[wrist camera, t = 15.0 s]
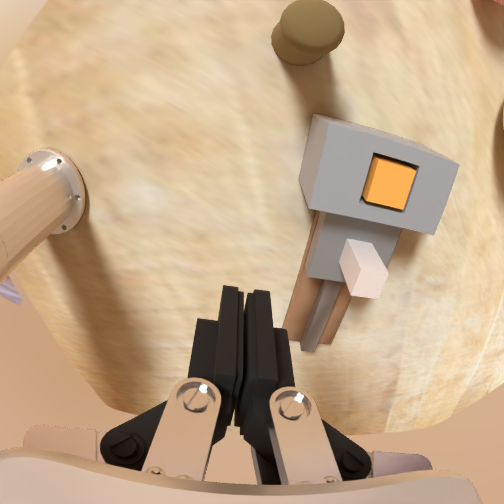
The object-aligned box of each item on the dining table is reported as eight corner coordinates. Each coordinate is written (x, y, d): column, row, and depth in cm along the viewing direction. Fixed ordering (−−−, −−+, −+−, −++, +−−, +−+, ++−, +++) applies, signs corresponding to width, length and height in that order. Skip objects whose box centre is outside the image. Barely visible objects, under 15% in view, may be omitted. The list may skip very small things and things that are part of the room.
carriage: (303, 256, 40) (313, 311, 31) (319, 196, 36) (338, 240, 27) (368, 266, 40) (393, 320, 31) (388, 211, 36) (424, 256, 27)
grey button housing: (298, 179, 37) (308, 208, 29) (313, 112, 32) (329, 123, 25) (406, 203, 37) (438, 236, 30) (425, 145, 33) (463, 166, 26)
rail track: (280, 332, 49) (281, 348, 46) (323, 183, 37) (328, 194, 34) (329, 337, 49) (332, 353, 46) (383, 197, 37) (392, 208, 34)
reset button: (355, 186, 31) (366, 201, 28) (365, 149, 29) (378, 159, 26) (389, 195, 31) (403, 209, 28) (399, 159, 29) (415, 170, 26)
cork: (336, 53, 29) (368, 42, 19) (288, 74, 30) (300, 71, 21) (309, 7, 26) (329, -21, 17) (260, 29, 28) (260, 7, 18)
